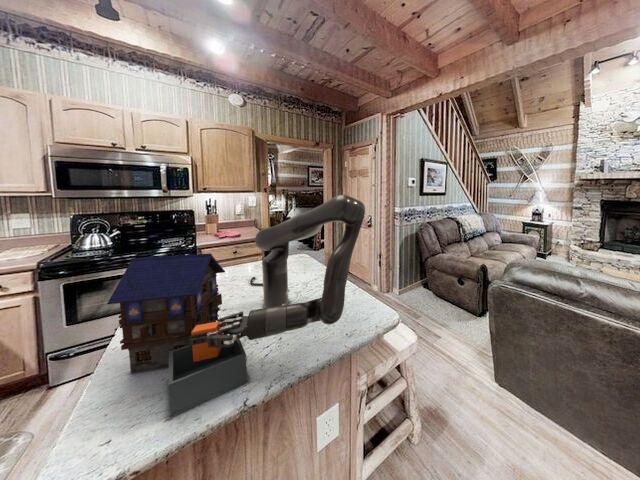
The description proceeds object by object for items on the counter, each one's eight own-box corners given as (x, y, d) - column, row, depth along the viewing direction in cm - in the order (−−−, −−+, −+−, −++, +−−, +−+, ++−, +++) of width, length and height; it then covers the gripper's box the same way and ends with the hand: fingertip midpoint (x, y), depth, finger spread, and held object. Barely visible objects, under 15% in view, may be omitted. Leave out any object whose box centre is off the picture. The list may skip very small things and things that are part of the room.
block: (198, 354, 66) (196, 325, 65) (221, 349, 68) (219, 320, 67) (193, 362, 63) (191, 332, 62) (217, 356, 65) (215, 327, 64)
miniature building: (207, 366, 71) (200, 263, 69) (111, 382, 65) (100, 270, 63) (233, 328, 89) (229, 245, 87) (160, 338, 83) (153, 249, 81)
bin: (171, 379, 66) (168, 351, 66) (237, 353, 76) (235, 329, 76) (170, 417, 56) (168, 385, 55) (247, 381, 66) (245, 353, 65)
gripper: (271, 297, 77) (201, 309, 70) (265, 321, 64) (178, 338, 57) (272, 321, 77) (203, 334, 71) (266, 349, 64) (180, 369, 58)
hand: (192, 336), depth 64 cm, fingers closed on block, 3 cm apart
